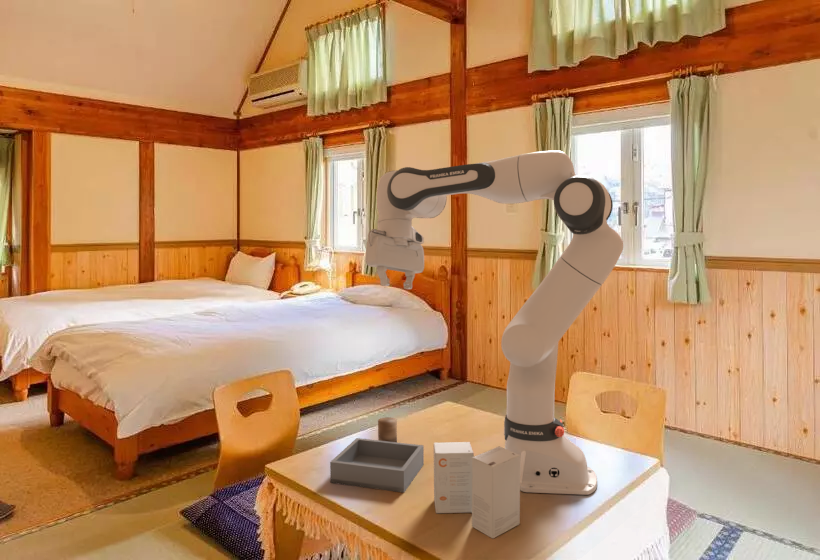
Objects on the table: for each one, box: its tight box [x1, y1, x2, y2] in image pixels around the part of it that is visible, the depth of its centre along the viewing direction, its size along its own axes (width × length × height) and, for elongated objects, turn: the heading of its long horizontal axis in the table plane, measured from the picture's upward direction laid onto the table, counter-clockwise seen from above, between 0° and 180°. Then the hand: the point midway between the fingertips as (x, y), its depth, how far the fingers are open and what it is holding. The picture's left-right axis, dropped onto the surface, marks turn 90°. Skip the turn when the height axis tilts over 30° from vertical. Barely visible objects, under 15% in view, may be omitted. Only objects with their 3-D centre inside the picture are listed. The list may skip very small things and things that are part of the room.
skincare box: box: [471, 446, 521, 539], centre depth 114 cm, size 8×6×15 cm
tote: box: [329, 437, 425, 494], centre depth 139 cm, size 18×16×5 cm
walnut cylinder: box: [377, 416, 398, 443], centre depth 154 cm, size 5×5×8 cm
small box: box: [433, 441, 475, 514], centre depth 122 cm, size 8×6×13 cm
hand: (396, 287), depth 147 cm, fingers open, 8 cm apart
